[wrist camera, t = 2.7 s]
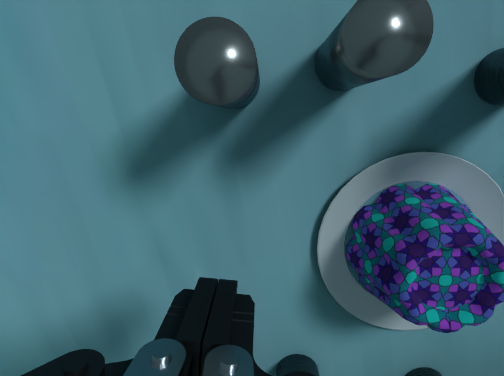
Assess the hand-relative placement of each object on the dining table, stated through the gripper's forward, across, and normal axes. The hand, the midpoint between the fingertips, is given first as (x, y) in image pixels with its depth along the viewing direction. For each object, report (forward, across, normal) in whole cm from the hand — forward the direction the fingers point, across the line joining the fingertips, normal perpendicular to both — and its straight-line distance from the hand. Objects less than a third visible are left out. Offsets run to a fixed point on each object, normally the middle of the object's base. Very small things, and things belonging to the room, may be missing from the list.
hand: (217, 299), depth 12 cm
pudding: (+9, -11, 0) cm, 14 cm away
